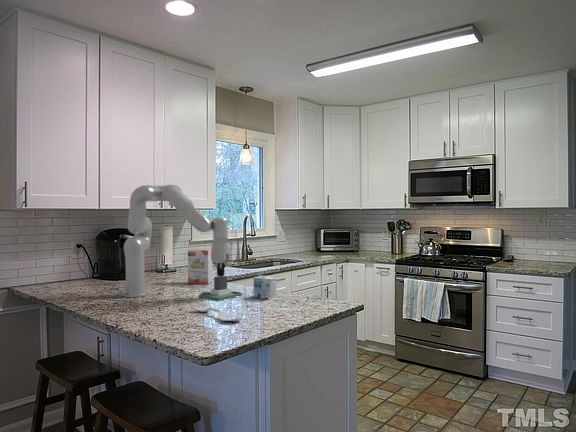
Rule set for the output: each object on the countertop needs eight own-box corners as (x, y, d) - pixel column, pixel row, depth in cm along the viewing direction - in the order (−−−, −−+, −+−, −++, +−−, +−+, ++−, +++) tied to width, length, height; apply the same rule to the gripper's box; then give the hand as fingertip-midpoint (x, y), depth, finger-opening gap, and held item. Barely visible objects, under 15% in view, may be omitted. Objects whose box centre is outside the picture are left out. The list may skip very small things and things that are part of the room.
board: (219, 301, 220) (219, 293, 220) (199, 296, 230) (199, 289, 230) (242, 295, 232) (242, 288, 232) (222, 291, 242) (221, 284, 242)
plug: (219, 294, 228) (219, 277, 227) (214, 293, 230) (214, 276, 230) (228, 292, 233) (228, 276, 232) (223, 291, 235) (223, 275, 235)
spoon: (205, 308, 206) (205, 301, 206) (246, 322, 182) (246, 314, 182) (188, 311, 200) (188, 304, 200) (228, 326, 176) (228, 317, 176)
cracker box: (187, 283, 267) (187, 249, 267) (192, 281, 273) (192, 248, 273) (208, 284, 263) (207, 250, 263) (212, 283, 269) (212, 249, 268)
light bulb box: (253, 297, 228) (253, 277, 228) (259, 295, 234) (259, 275, 234) (270, 299, 223) (270, 278, 223) (277, 297, 229) (277, 276, 229)
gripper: (205, 240, 232) (205, 275, 233) (225, 242, 222) (225, 278, 223) (216, 239, 238) (216, 273, 238) (235, 241, 228) (235, 276, 229)
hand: (220, 275), depth 231 cm, fingers closed
